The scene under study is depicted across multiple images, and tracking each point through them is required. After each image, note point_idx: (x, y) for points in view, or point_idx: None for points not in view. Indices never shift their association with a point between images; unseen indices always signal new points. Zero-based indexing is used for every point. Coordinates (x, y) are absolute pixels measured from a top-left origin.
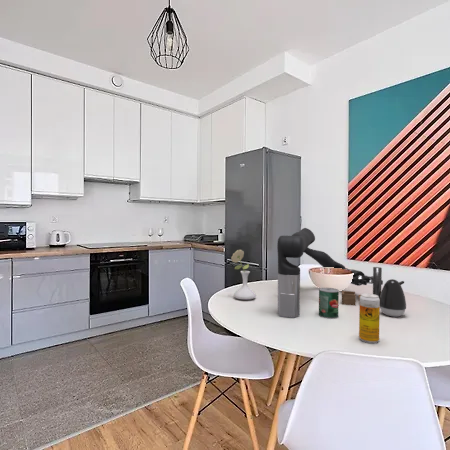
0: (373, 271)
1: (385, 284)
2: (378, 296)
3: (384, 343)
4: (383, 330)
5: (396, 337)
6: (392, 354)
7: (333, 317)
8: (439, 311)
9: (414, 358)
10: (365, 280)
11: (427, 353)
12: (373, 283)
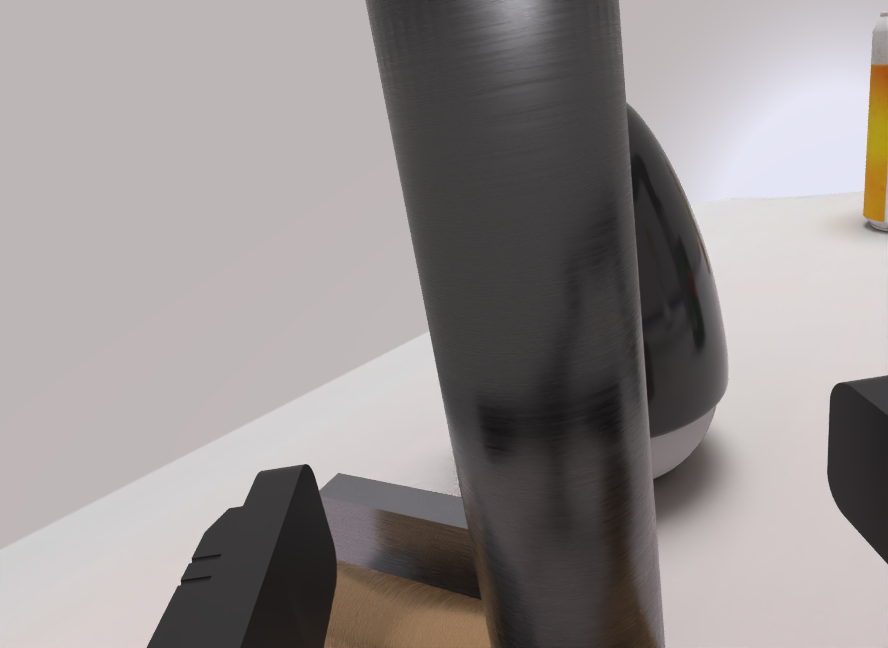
0: (622, 66)
1: (657, 140)
2: (881, 12)
3: (841, 222)
4: (806, 279)
5: (764, 251)
6: (831, 197)
7: None
8: (40, 554)
9: (764, 198)
10: (878, 386)
11: (703, 215)
12: (645, 402)
